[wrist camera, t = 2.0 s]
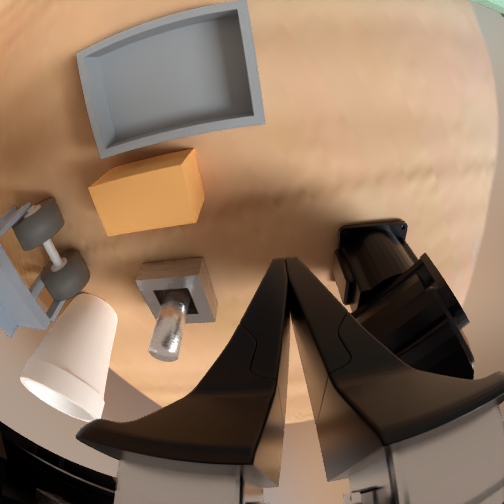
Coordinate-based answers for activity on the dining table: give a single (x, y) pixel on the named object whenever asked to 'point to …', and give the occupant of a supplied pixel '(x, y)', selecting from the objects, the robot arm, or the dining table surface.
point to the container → (492, 5)
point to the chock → (149, 193)
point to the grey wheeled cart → (52, 276)
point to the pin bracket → (179, 286)
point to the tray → (172, 78)
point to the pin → (170, 325)
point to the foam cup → (74, 359)
